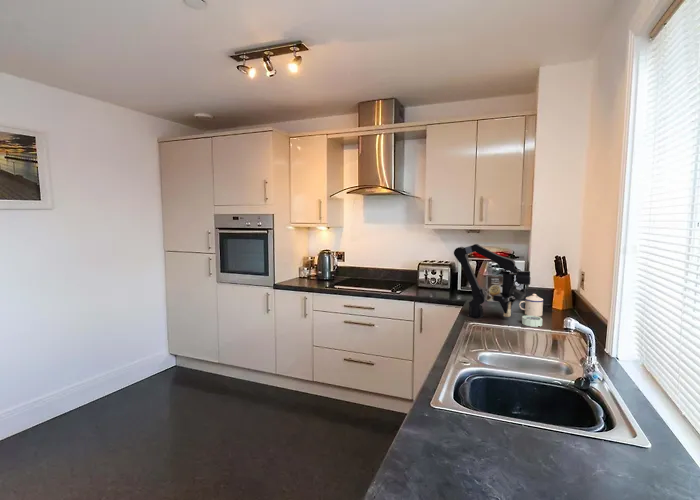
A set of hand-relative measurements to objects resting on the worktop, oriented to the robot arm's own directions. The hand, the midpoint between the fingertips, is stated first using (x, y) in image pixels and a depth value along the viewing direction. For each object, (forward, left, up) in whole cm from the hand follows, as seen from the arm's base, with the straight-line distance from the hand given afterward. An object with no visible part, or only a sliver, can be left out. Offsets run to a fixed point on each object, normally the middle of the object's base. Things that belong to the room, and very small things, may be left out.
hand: (507, 312), depth 195 cm
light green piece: (+11, +3, -4) cm, 13 cm away
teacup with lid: (+2, +21, -4) cm, 22 cm away
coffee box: (-29, +36, -4) cm, 46 cm away
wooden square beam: (0, 0, -2) cm, 2 cm away
